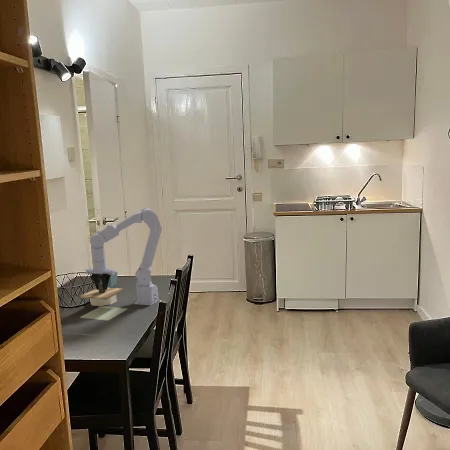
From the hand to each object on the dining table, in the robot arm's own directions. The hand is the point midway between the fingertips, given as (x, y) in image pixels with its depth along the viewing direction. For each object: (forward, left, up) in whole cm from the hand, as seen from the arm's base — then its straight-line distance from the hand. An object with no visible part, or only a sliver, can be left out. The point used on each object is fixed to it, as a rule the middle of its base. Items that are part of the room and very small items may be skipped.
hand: (102, 289), depth 217 cm
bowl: (+5, -7, -9) cm, 12 cm away
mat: (-5, +6, -9) cm, 12 cm away
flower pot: (+15, -24, -9) cm, 30 cm away
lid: (0, 0, -2) cm, 2 cm away
